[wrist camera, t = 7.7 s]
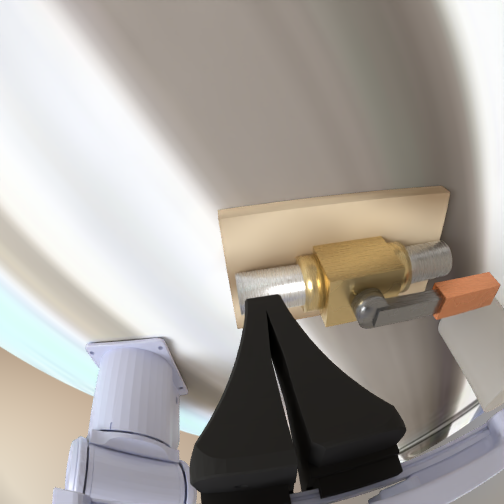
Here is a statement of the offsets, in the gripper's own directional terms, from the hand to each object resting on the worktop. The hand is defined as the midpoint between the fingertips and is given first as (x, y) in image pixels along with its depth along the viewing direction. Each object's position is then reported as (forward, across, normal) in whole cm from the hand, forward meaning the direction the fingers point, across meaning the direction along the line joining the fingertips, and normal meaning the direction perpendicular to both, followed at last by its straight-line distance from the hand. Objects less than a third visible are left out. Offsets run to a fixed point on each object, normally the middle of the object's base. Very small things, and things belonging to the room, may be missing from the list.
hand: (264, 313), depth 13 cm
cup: (+10, -25, +17) cm, 32 cm away
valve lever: (+4, -12, +5) cm, 14 cm away
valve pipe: (+9, -7, +5) cm, 13 cm away
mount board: (+9, -7, +5) cm, 13 cm away
